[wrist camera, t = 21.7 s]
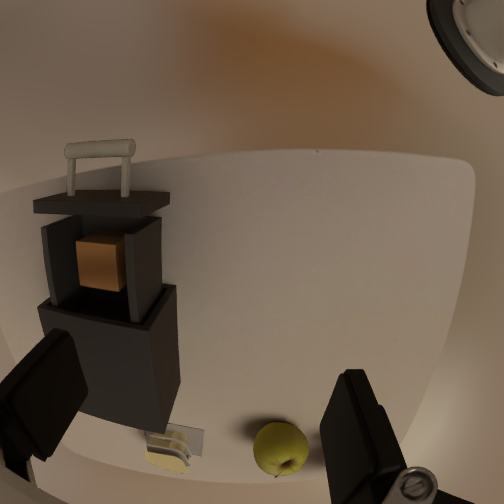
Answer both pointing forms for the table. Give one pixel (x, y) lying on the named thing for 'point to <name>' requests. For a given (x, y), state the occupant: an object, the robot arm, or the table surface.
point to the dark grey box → (125, 362)
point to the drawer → (107, 219)
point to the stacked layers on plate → (174, 447)
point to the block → (102, 260)
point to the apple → (280, 449)
